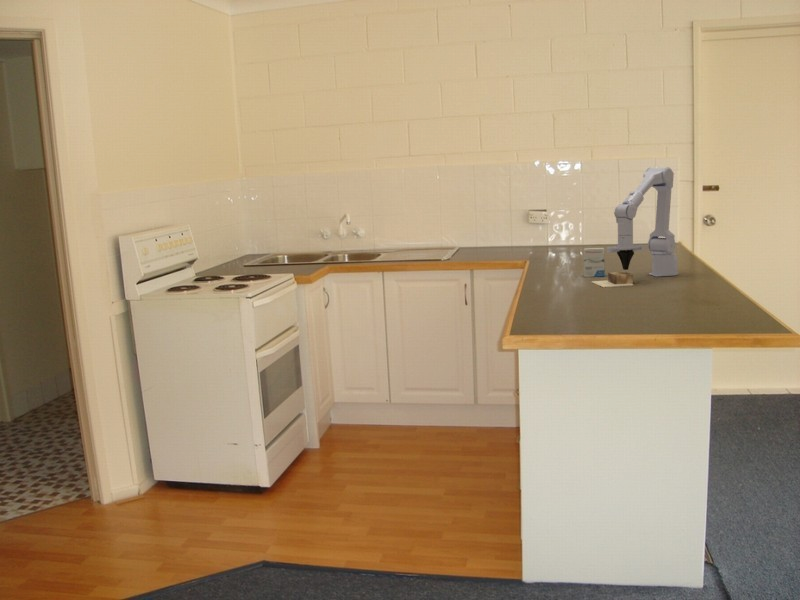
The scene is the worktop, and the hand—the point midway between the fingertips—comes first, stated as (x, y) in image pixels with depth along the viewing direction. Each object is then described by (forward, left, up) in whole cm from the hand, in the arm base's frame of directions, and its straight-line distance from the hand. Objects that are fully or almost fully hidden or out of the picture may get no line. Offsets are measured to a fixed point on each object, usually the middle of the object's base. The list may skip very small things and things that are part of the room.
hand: (625, 269), depth 302 cm
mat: (+5, 0, -5) cm, 8 cm away
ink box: (+5, -23, -6) cm, 24 cm away
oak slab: (-1, 0, -3) cm, 4 cm away
